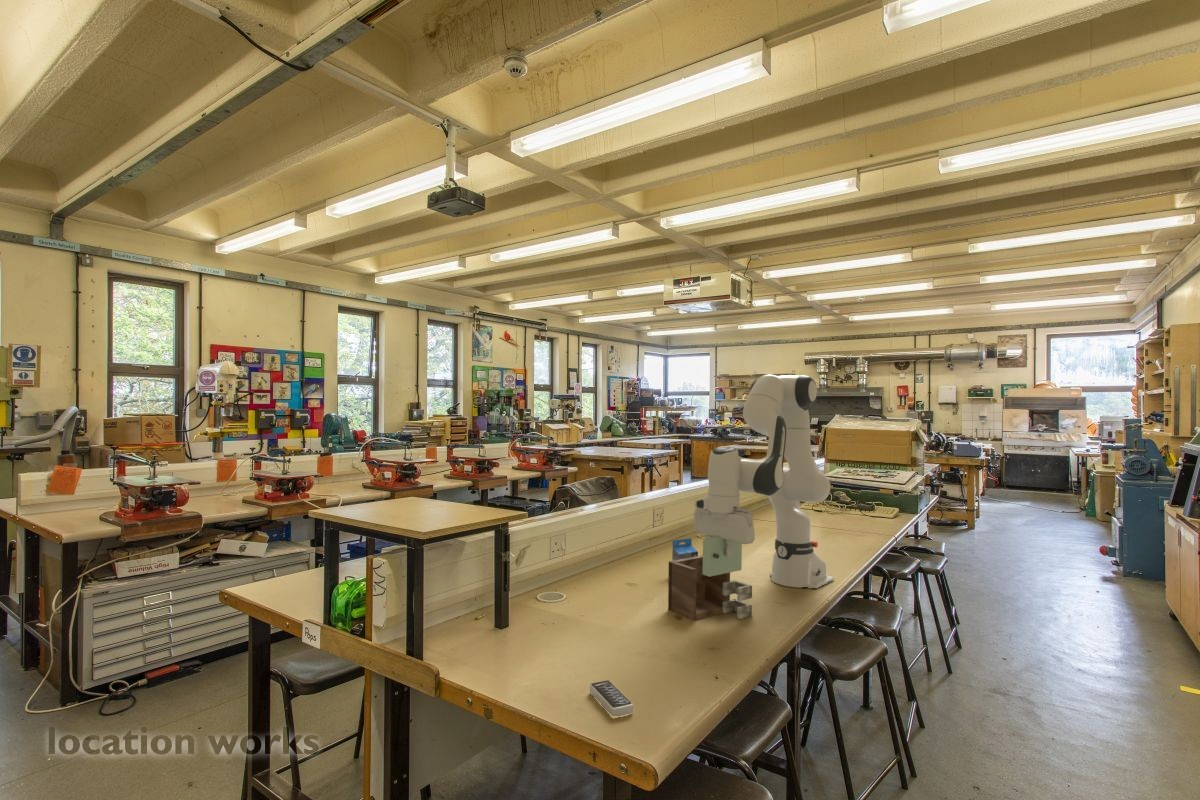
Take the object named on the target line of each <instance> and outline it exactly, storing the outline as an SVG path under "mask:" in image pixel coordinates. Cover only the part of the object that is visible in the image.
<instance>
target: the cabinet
mask: <svg viewBox="0 0 1200 800" xmlns="http://www.w3.org/2000/svg"><path fill="white" fill-rule="evenodd" d="M702 569H703V554H702V555H698V556H697V557H691V558H686V559H680V560H675V561H672V560H670V561H668V583H667V584H668V587H667V589H668V590H667V591H668V598H667V599H668V601H667V603H668V605H667V608H668V609H667V610H668V611H670V612H672V613H675V614H677V615H679V616H681V617H684V618H685V619H688V620H690V621H695V620H699V619H702V618H706V617H710V616H714V615H717V614H721V613H723V614H729V613H732V612H736V619H739V620H741V619H745V618H749V617H752V616H753V610H752V609H753V605H752V604H750V603H747V602H745V601H746V600H751V599H753V585H751V584H749V583H746V582H742V581H739V580H736V579H734V580H731V572H730V573H725V574H720V575H715V576H710V577H709V576H706V575H703V574H702ZM735 594H736V595H737V598H733V599H731V595H735Z"/></svg>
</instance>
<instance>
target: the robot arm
mask: <svg viewBox="0 0 1200 800" xmlns="http://www.w3.org/2000/svg"><path fill="white" fill-rule="evenodd" d="M817 395H818V386H817V382H816V380H815V379H814V378H813V377H811V376H808V375H805V374H801V375H791V374H787V375H786V374H785V375H784V374H782V375H774V374H768V373H767V374H763V375H761V376H760V377H758V378H756V379H754V381H753V382H752V383H751V384H750V388H749V393H748V396H747V397H746V400H745V403H744V405H743V410H742V416H743V420H744V422H745V424H746V425H747V426H748V427H749V428H750V429H751V430H753V431H755V432H756V433H759V434H761V435H764V436H766V437H768V442H767V443H768V444H767V448H766V450H767V451H766V456H765V457H763V458H747V457H741V456H740V455H739V451H738V448H736V447H734V446H719V447H715V448H713V449H712V450H711V451H710V454H709V459H708V468H707V480H708V489H707V497H703V498H700V499H696V500H694V508H695V509H694V511H693V529H694V531H695V532H696V533H700V534H703V535H707V536H709V537H714V536H716V537H720V538H722V539H726V540H727V544H728V546H727V548H726V549H724V555H726V556H731V555H732V549H733V547H734V546H735V544H736V542H738V543H742V545H749V544H753V543H754V541H755V538H756V537H755V527H754V526H755V525H754V516H753V514H752V513H751V511H750V510H749V509H748V508H743V507H740V496H741V495H740V492H747V493H748V492H749V493H754V494H755V493H756V494H759V495H763V496H767V498H768V500H769V501H770V503H771V506H772V508H773V511H774V514H775V515H774V516H775V525H776V529H775V531H776V535H775V536H776V538H775V539H774V550H775V552H774V553H773V558H772V567H771V568H772V569H771V572H770V573H769V577H771V578H770V580H771V581H772V582H773V583H775V584H777V585H781V586H785V587H789V588H799V589H800V588H802V587H808V588H807V589H812V588H817V589H819V588H818V587H820V586H822V585H824V584H826V583H828V582H830V581H832V580H835V578H834V577H833V576H831V575H829V574H827V565H826V563H825V561H824V560H823V559H822V558H820V557H819V556H818V555H817V554H816V553H815V552H814V551H815V550H814V548H818V547H819V542H818V541H813V540H811V519H810V517H809V516H808V514H807V513H806V512H804V511H803V510H802V508H801V507H800V506H799V502H802V503H803V502H804V503H809V504H810V503H821V502H824V501H825V500H826V499H827V498H828V496H829V495H830V492H831V482H830V479H829V477H828V476H827V475H826V474H825V473H824V472H823V471H822V470H821V469H820V468H819V466H818V464H817V463H816V462H815V459H814V457H813V453H812V452H813V451H812V448H811V447H812V444H811V421H810V413H809V408H810V407H811V406H813V405H814V403H815V402H816V400H817V397H818V396H817ZM784 460H786V462H787V465H788V467H785V466H784ZM832 582H833V581H832ZM830 583H831V582H830ZM828 584H829V583H828ZM826 585H827V584H826ZM824 586H825V585H824ZM822 587H823V586H822ZM820 588H821V587H820Z"/></svg>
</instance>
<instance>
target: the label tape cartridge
mask: <svg viewBox="0 0 1200 800" xmlns="http://www.w3.org/2000/svg"><path fill="white" fill-rule="evenodd" d="M682 543H684V544H682ZM692 544H693V543H692V538H690V537H689V538H683V539H675V540H673V539H672V553H671V554H672V555H671V557H672V559H671V561H675V560H680V559H686V558H691V557H697V556H699V551H698V550H697V549H696V548H695V546H693V545H692Z"/></svg>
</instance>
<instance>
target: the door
mask: <svg viewBox="0 0 1200 800" xmlns="http://www.w3.org/2000/svg"><path fill="white" fill-rule="evenodd" d="M727 546H728V544H727V540H726V539H722V538H720V537H716V536H714V537H711V536H708V537H707V536H706V537H703V538H702V555H703V569H702V574H703V575H706V576H709V577H710V576H715V575H720V574H725V573H730V574H731V573H734V572H738V571H739V572H740V571H742V567H743V566H742V560H743V557H742V552H743V550H742V549H743V544H742V543H738V542H736V544H735V546H734V547H733V549H732V555H731V556H726V555H724V549H726V548H727Z"/></svg>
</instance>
